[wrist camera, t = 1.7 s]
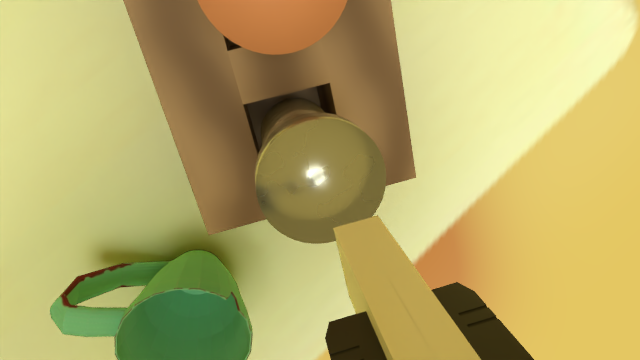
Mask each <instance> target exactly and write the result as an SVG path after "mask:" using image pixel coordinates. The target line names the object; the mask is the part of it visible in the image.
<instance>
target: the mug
mask: <svg viewBox="0 0 640 360" xmlns="http://www.w3.org/2000/svg"><path fill="white" fill-rule="evenodd" d="M142 285H146V287H145V288H144V290H143V291H142V292H141V294H140V295H139V296H138V297H137V298H136V299H135V300H134V301H133V303H132V304H131V305H130V306H129V307H128V308H92V307H85V306H77V305H76V304H78V303H81V302H83V301H85V300H88V299H90V298H93V297H96V296H98V295H101V294H103V293H106V292H109V291H111V290H114V289H116V288H119V287H130V286H142ZM50 314H51V318H52V319H53V321H54V322H55V324H56V325H57V326H58V328H59V329H60V330H61V332H62V333H63V334H66V335H75V336H85V337H102V336H115V355H116V357H117V359H118V360H247V358H248V356H249V354H250V352H251V345H252V326H251V323H250V319H249V316H248V313H247V310H246V307H245V305H244V302H243V300H242V298H241V295H240V292H239V289H238V286H237V284H236V282H235V280H234V279H233V277H232V275H231V274H230V272H229V271H228V270H227V268H226V267H225V266H224V265H223V264H222V262H221V261H220V260H219V259H218V258H217V257H216V256H215V255H214V254H212V253H211V252H207V251H204V250H192V251H188V252H185V253H184V254H182V255H180V256H179V257H177V258H175V259H174V260H172V261H159V262H138V263H122V264H119V265H115V266H112V267H109V268H105V269H102V270H98V271H95V272H91V273H88V274H84V275H81V276H78V277H77V278H76V279H75V280H74V281H73V282H72V283H71V284H70V285H69V287H68V288H67V289H66V290H65V291H64V292H63V293H62V294H61V295H60V297H59V298H58V299H57V300H56V301H55V302H54V303H53V305H52V306H51V308H50Z"/></svg>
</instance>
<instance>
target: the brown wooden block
mask: <svg viewBox="0 0 640 360" xmlns="http://www.w3.org/2000/svg"><path fill="white" fill-rule="evenodd" d="M123 1H124V3H125V6H126V9H127V12H128V14H129V17H130V20H131V23H132V25H133V28H134V31H135V34H136V36H137V39H138V42H139V45H140V47H141V50H142V53H143V56H144V58H145V61H146V64H147V67H148V69H149V72H150V75H151V78H152V80H153V83H154V86H155V89H156V91H157V94H158V97H159V100H160V102H161V105H162V108H163V111H164V113H165V116H166V119H167V122H168V124H169V127H170V130H171V133H172V135H173V138H174V141H175V144H176V146H177V149H178V152H179V155H180V157H181V160H182V163H183V166H184V168H185V171H186V174H187V177H188V179H189V182H190V185H191V188H192V190H193V193H194V196H195V199H196V201H197V204H198V207H199V210H200V212H201V215H202V218H203V221H204V223H205V226H206V229H207V232H208V234H209V235H211V234H215V233H218V232H222V231H225V230H229V229H233V228H236V227H240V226H243V225H247V224H251V223H254V222H258V221H261V220H265V219H266V217H265V216H264V214H263V212H262V210H261V208H260V205H259V203H258V199H257V194H256V185H255V165H256V160H257V157H258V154H259V151H260V149H261V147H262V141H261V125H262V121H263V119H264V117H265V115H266V113H267V112H268V111H269V110H270V109H271V108H272V107H273V106H274V105H275V104H277V103H278V102H280V101H282V100H285V99H289V98H303V99H307V100H310V101H312V102H314V103H315V104H317V105H318V106H319V107H320V108H321V109H322V110H323V111H324V112H325V113H331V114H335V115H338V116H341V117H344V118H346V119H348V120H350V121H351V122H353V123H354V124H355V125H357V126H358V127H359V128H360V129H361V130H363V131H364V132H365V133H366V134H367V135H368V136H369V137H370V138H371V139H372V140H373V141H374V142H375V144H376V145H377V147H378V148H379V150H380V152H381V154H382V157H383V159H384V163H385V168H386V186H387V185H391V184H394V183H398V182H401V181H405V180H409V179H412V178H416V173H415V167H414V160H413V153H412V146H411V139H410V132H409V125H408V118H407V111H406V104H405V97H404V90H403V83H402V76H401V69H400V62H399V55H398V48H397V41H396V34H395V27H394V20H393V13H392V6H391V0H347V3H346V5H345V8H344V10H343V12H342V14H341V16H340V17H339V19H338V20H337V22H336V23H335V25H334V26H333V27H332V28H331V29H330V31H329V32H328V33H327V34H326V35H325V36H323V37H322V38H321V39H320V40H319V41H317V42H315V43H314V44H312V45H311V46H309V47H307V48H305V49H302V50H299V51H296V52H293V53H288V54H279V55H271V54H262V53H258V52H254V51H251V50H248V49H245V48H243V47H241V46H239V45H237V44H235V43H234V42H232V41H231V40H229V39H228V38H227V37H225V36H224V35H223V34H222V33H221V32H220V31H218V30H217V29H216V28H215V26H214V25H213V24H212V23H211V22H210V21H209V19H208V18H207V16H206V15H205V13H204V12H203V10H202V9H201V7H200V5H199V3H198V1H197V0H123Z"/></svg>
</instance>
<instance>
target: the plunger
mask: <svg viewBox="0 0 640 360" xmlns="http://www.w3.org/2000/svg"><path fill="white" fill-rule="evenodd" d="M261 141H262V147H261V149H260V151H259V154H258V157H257V160H256V165H255V185H256V194H257V199H258V203H259V205H260V208H261V210H262V212H263V214H264V216H265V217H266V219H267V220H268V221H269V223H270V224H271V225H272V226H273V227H274V228H275V229H277V230H278V231H279V232H281V233H282V234H284V235H286V236H287V237H289V238H292V239H294V240H297V241H301V242H306V243H328V242H333V241H336V237H335V233H334V229H333V228H335V227H339V226H342V225H346V224H349V223H353V222H356V221H360V220H363V219H367V218H370V217H372V216H373V215H374V213H375V212H376V210H377V208H378V207H379V205H380V203H381V200H382V198H383V195H384V191H385V186H386V168H385V163H384V159H383V157H382V154H381V152H380V150H379V148H378V147H377V145H376V144H375V142H374V141H373V140H372V139H371V138H370V137H369V136H368V135H367V134H366V133H365V132H364V131H363V130H361V129H360V128H359V127H358V126H357V125H355V124H354V123H353V122H351V121H350V120H348V119H346V118H344V117H341V116H338V115H335V114H331V113H325V112H324V111H323V110H322V109H321V108H320V107H319V106H318V105H317V104H315V103H314V102H312V101H310V100H307V99H303V98H289V99H285V100H282V101H280V102H278V103H277V104H275V105H274V106H273V107H272V108H271V109H270V110H269V111H268V112H267V113H266V115H265V117H264V119H263V121H262V125H261Z"/></svg>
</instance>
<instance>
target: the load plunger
mask: <svg viewBox="0 0 640 360" xmlns="http://www.w3.org/2000/svg"><path fill="white" fill-rule="evenodd" d="M197 1H198V3H199V5H200V7H201V9H202V10H203V12H204V13H205V15H206V16H207V18H208V19H209V21H210V22H211V23H212V24H213V25H214V26H215V28H216V29H217V30H218V31H220V32H221V33H222V34H223V35H224V36H225V37H227V38H228V39H229V40H231V41H232V42H234V43H235V44H237V45H239V46H241V47H243V48H245V49H248V50H251V51H254V52H258V53H262V54H271V55H279V54H288V53H293V52H296V51H299V50H302V49H305V48H307V47H309V46H311V45H312V44H314V43H315V42H317V41H319V40H320V39H321V38H322V37H323V36H325V35H326V34H327V33H328V32H329V31H330V29H331V28H332V27H333V26H334V25H335V23H336V22H337V20H338V19H339V17H340V16H341V14H342V12H343V10H344V8H345V5H346V3H347V0H197Z"/></svg>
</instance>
